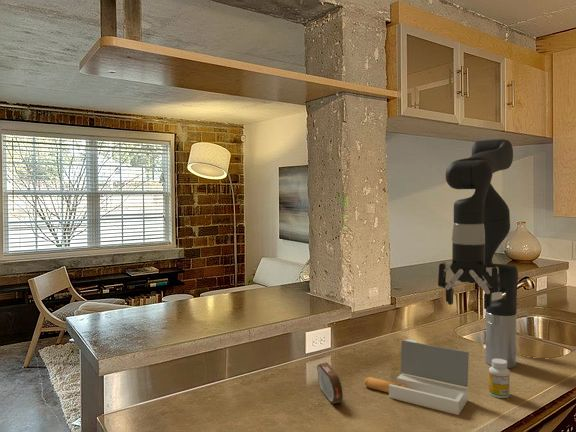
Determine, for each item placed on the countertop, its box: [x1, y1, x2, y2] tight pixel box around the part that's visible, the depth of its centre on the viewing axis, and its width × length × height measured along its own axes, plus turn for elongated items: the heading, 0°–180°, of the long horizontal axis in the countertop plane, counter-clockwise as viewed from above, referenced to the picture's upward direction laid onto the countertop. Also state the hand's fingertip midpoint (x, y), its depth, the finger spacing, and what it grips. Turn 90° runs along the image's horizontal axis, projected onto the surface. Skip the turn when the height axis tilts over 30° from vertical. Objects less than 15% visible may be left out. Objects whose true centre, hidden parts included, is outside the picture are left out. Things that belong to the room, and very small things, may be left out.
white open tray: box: [388, 373, 469, 416], centre depth 129 cm, size 10×19×4 cm, turn 55°
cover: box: [400, 339, 470, 388], centre depth 133 cm, size 10×19×1 cm
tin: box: [316, 361, 344, 405], centre depth 132 cm, size 15×3×8 cm, turn 14°
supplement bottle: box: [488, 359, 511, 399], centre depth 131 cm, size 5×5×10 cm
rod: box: [363, 376, 406, 394], centre depth 135 cm, size 3×13×3 cm, turn 56°
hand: (468, 306), depth 115 cm, fingers open, 8 cm apart
